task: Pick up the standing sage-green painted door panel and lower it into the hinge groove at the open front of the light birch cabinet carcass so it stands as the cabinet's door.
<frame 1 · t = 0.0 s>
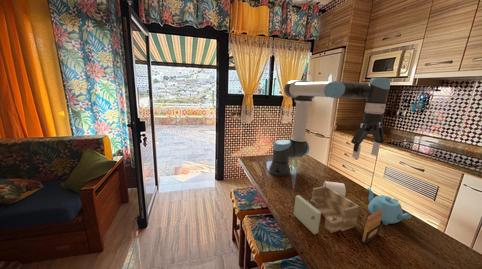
hand: (364, 156, 92), 28 cm above the countertop, fingers open, 13 cm apart
door: (304, 223, 85), on the countertop
carcass: (320, 218, 88), on the countertop
teapot: (382, 218, 90), on the countertop
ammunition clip: (369, 237, 78), on the countertop
mug: (331, 194, 111), on the countertop
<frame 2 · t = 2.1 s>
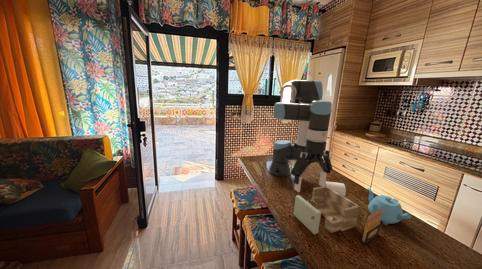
hand: (309, 188, 81), 17 cm above the countertop, fingers open, 13 cm apart
nothing on the countertop moved.
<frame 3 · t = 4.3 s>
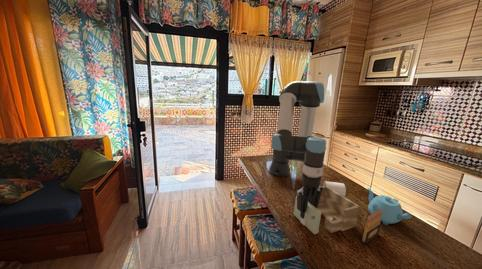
hand: (305, 222, 85), 0 cm above the countertop, fingers closed on door, 2 cm apart
door: (305, 223, 85), on the countertop, touching gripper
everything else where it was.
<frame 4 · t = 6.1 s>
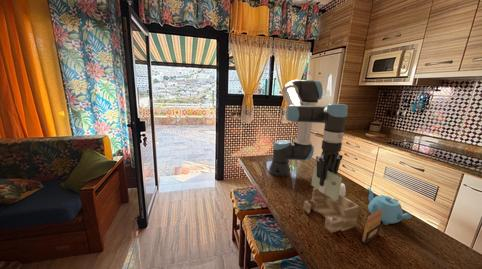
hand: (324, 191, 85), 14 cm above the countertop, fingers closed on door, 2 cm apart
door: (323, 191, 85), point 14 cm above the countertop, touching gripper
everything else where it was.
when the fingers open (2 cm above the countertop, at t = 8.1 s): door drops 2 cm, on the countertop.
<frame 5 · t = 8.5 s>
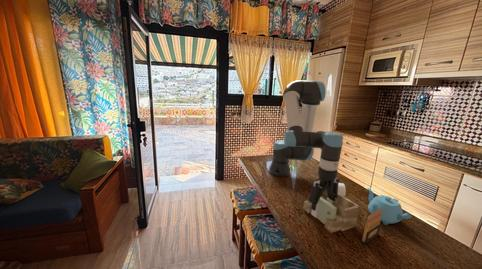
hand: (320, 213, 88), 3 cm above the countertop, fingers open, 8 cm apart
door: (319, 218, 88), on the countertop
everything else where it was.
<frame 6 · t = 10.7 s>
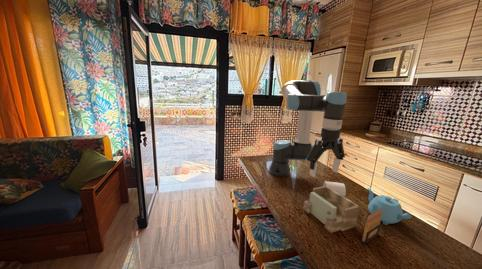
hand: (323, 173, 87), 21 cm above the countertop, fingers open, 13 cm apart
nothing on the countertop moved.
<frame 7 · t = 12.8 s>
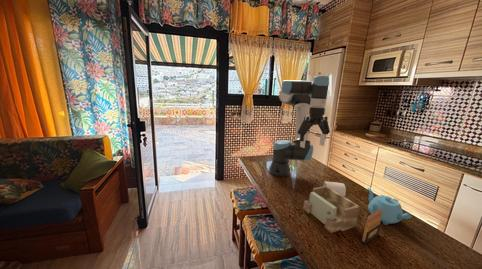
hand: (312, 146, 103), 29 cm above the countertop, fingers open, 13 cm apart
nothing on the countertop moved.
at the end: door 0.2 cm off-centre on the carcass, point 0.0 cm above the carcass's base; door tilted 0°; the gripper is holding nothing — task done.
